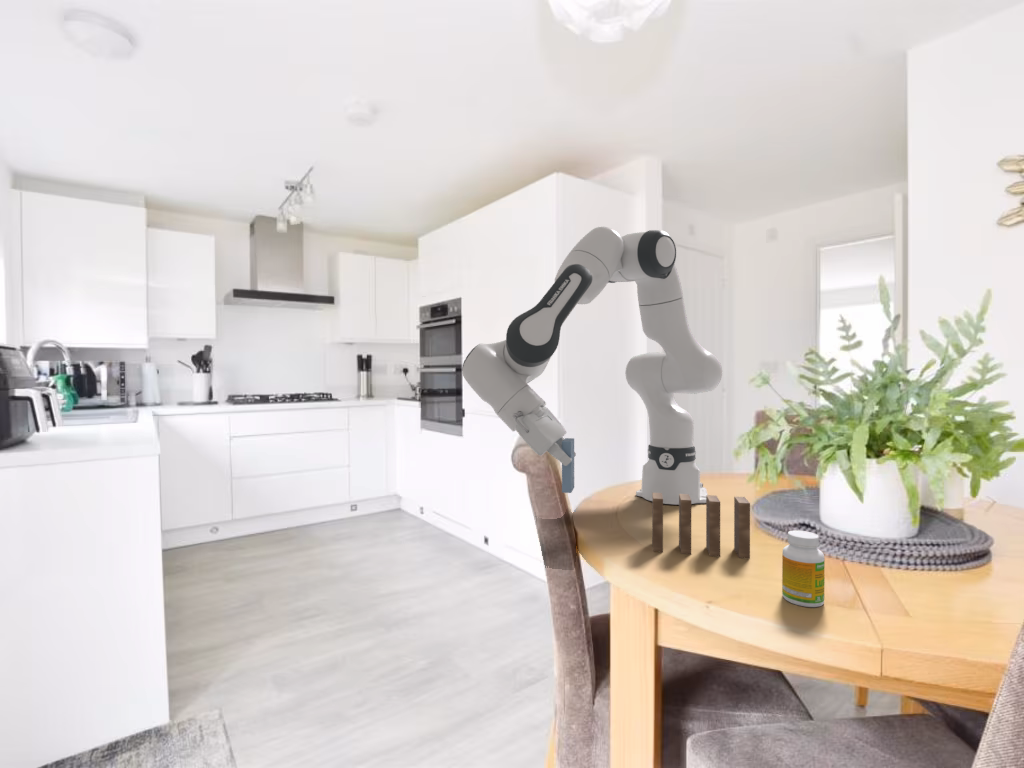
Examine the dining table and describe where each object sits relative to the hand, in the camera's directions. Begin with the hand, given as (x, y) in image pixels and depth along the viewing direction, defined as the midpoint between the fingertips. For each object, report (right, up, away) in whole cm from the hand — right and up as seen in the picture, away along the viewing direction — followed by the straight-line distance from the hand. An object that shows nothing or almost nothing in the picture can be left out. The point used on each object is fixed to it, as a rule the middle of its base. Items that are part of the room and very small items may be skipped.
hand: (571, 460), depth 103 cm
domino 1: (-1, -6, 0) cm, 6 cm away
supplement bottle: (+31, -17, -27) cm, 44 cm away
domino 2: (+16, -16, -4) cm, 23 cm away
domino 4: (+26, -16, -6) cm, 31 cm away
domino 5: (+31, -16, -7) cm, 35 cm away
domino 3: (+21, -16, -5) cm, 27 cm away
